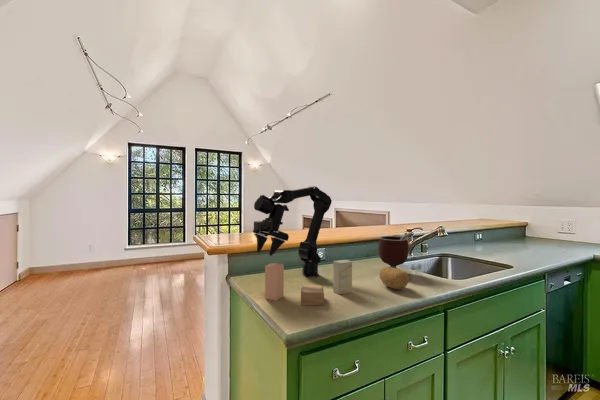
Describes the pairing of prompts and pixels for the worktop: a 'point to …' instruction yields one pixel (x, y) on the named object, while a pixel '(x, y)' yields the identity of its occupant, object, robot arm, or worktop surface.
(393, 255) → the mate gourd
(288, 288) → the worktop surface
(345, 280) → the skincare box
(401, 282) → the potato
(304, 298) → the plinth
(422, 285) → the worktop surface
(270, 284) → the block
